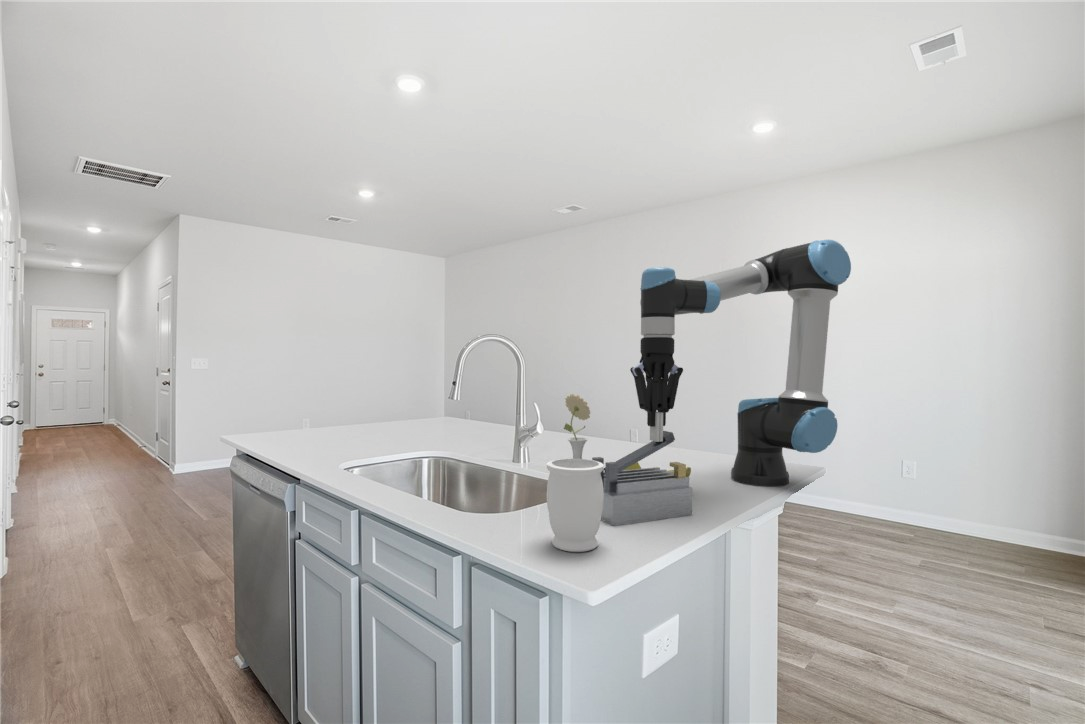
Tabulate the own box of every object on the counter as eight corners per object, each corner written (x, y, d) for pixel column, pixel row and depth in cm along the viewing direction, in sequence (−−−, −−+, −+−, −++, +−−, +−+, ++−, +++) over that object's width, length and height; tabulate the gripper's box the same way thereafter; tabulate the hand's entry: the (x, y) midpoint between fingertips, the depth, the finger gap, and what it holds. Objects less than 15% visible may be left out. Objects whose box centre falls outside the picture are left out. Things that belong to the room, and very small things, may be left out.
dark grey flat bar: (613, 475, 115) (610, 467, 115) (604, 472, 118) (601, 464, 118) (675, 440, 121) (672, 432, 121) (666, 438, 125) (663, 430, 124)
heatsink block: (655, 499, 130) (655, 449, 130) (692, 515, 117) (692, 460, 117) (581, 507, 122) (581, 455, 122) (612, 525, 109) (612, 467, 109)
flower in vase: (607, 497, 132) (608, 395, 132) (564, 501, 128) (565, 396, 128) (586, 485, 144) (586, 392, 144) (546, 488, 140) (546, 393, 140)
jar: (615, 548, 96) (615, 465, 96) (568, 559, 91) (569, 471, 91) (580, 531, 105) (580, 455, 105) (535, 541, 100) (535, 461, 100)
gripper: (671, 338, 127) (670, 437, 127) (623, 336, 122) (622, 439, 122) (691, 337, 120) (690, 441, 121) (641, 335, 115) (640, 444, 115)
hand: (656, 440), depth 121 cm, fingers closed
